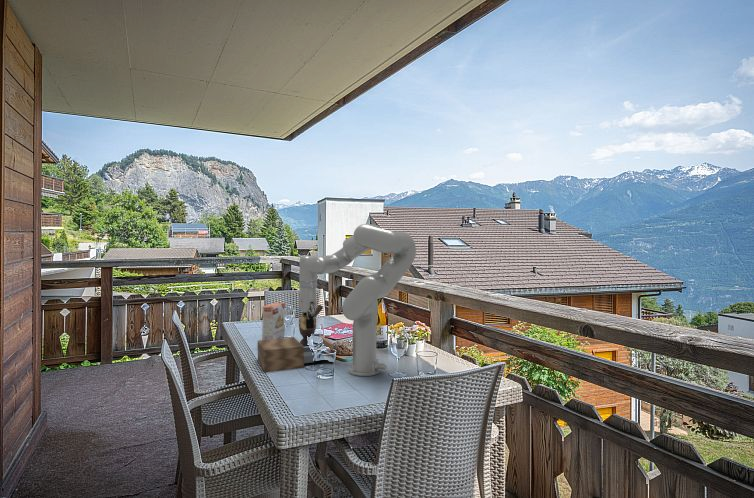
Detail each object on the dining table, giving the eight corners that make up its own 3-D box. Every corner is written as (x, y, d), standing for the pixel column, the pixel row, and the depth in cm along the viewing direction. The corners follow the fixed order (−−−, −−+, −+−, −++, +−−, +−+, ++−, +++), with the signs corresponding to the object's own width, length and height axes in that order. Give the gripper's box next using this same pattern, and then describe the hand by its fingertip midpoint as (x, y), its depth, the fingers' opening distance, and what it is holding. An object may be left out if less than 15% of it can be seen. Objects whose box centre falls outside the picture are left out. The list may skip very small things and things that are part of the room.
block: (311, 326, 186) (311, 315, 186) (315, 328, 182) (315, 317, 182) (300, 327, 184) (300, 315, 184) (303, 329, 180) (303, 317, 179)
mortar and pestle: (319, 340, 223) (318, 302, 223) (324, 344, 215) (324, 305, 215) (297, 343, 218) (297, 304, 218) (301, 347, 210) (301, 306, 210)
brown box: (294, 356, 194) (294, 337, 194) (303, 367, 177) (303, 346, 177) (257, 360, 187) (257, 340, 187) (264, 372, 171) (264, 350, 171)
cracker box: (273, 350, 204) (273, 306, 203) (261, 350, 205) (261, 306, 205) (285, 343, 218) (285, 302, 217) (274, 343, 219) (274, 302, 218)
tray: (321, 352, 199) (321, 335, 199) (333, 362, 182) (333, 344, 182) (286, 356, 192) (286, 338, 192) (295, 367, 176) (295, 347, 176)
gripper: (294, 282, 188) (293, 324, 189) (305, 287, 173) (305, 332, 174) (310, 282, 192) (310, 322, 192) (323, 286, 176) (322, 330, 177)
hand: (307, 326), depth 183 cm, fingers closed on block, 4 cm apart
